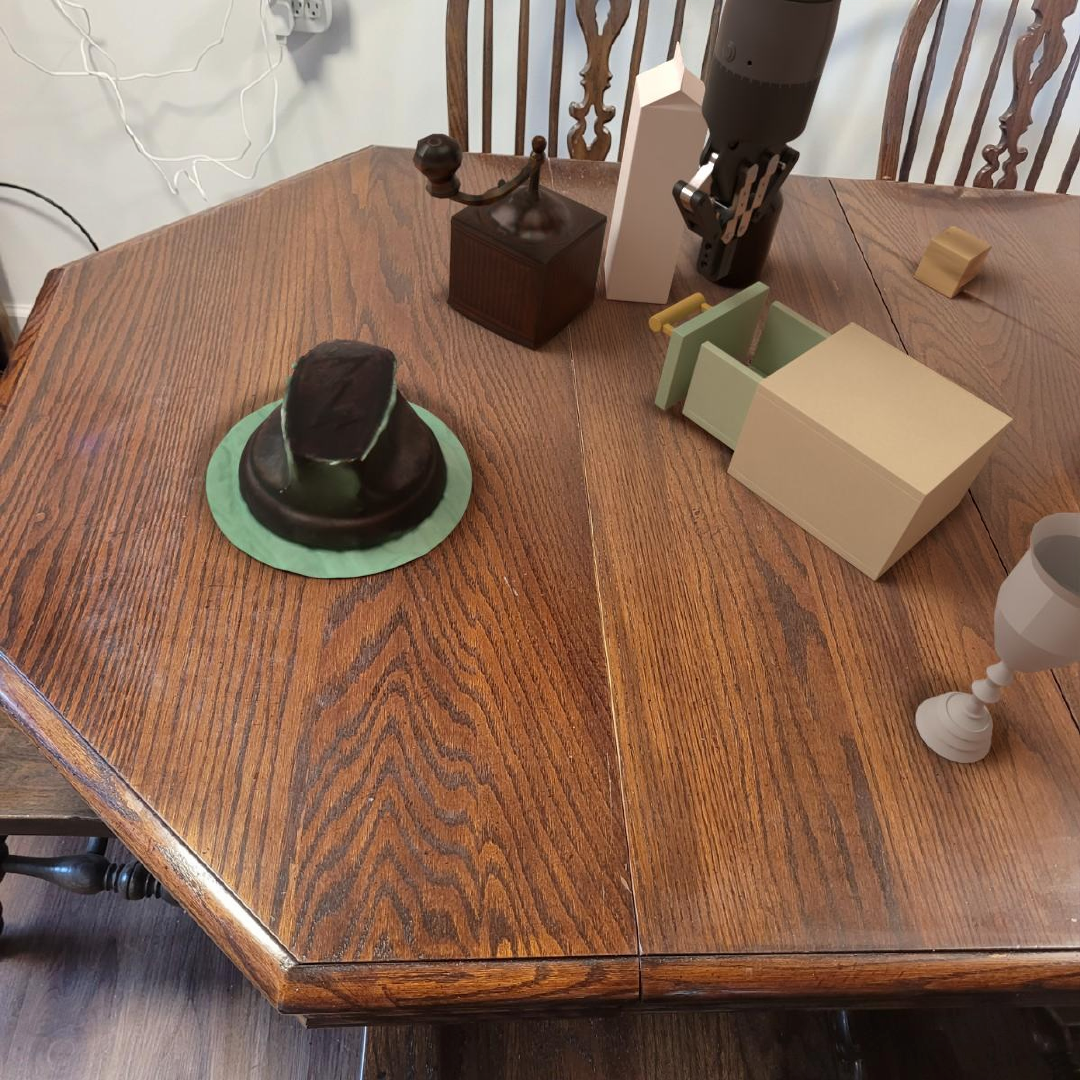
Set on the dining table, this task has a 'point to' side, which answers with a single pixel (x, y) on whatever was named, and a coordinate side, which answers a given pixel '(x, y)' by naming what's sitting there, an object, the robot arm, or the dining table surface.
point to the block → (951, 261)
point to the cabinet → (864, 446)
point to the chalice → (1016, 638)
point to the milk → (654, 182)
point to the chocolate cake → (339, 470)
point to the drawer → (727, 356)
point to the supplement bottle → (753, 247)
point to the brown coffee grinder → (515, 247)
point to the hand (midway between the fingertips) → (711, 273)
